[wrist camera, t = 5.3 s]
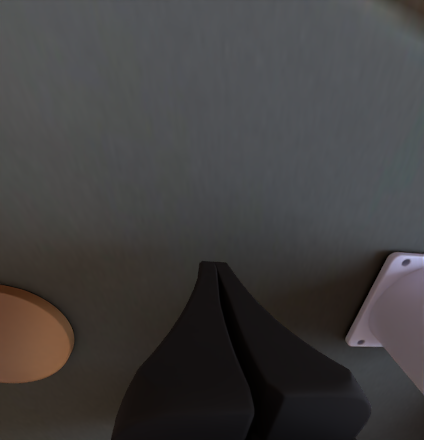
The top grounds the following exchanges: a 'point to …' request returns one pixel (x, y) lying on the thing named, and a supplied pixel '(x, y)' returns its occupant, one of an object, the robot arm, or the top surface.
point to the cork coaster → (31, 337)
